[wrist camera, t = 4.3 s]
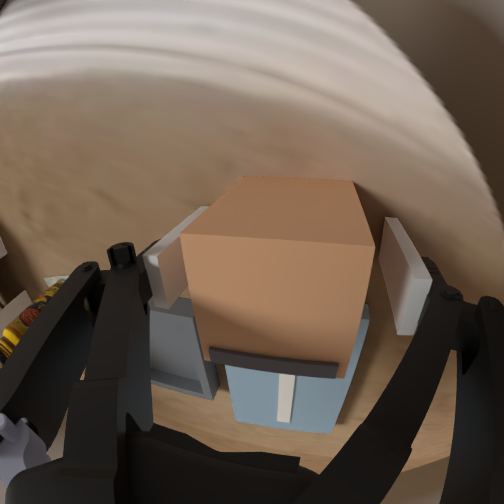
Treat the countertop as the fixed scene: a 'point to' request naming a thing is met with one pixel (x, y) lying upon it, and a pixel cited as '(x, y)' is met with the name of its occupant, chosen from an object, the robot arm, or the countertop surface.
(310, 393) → the board
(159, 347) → the tray
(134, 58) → the countertop surface
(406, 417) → the robot arm
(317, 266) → the stub
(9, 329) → the condiment
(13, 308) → the paper towel holder
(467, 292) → the countertop surface
